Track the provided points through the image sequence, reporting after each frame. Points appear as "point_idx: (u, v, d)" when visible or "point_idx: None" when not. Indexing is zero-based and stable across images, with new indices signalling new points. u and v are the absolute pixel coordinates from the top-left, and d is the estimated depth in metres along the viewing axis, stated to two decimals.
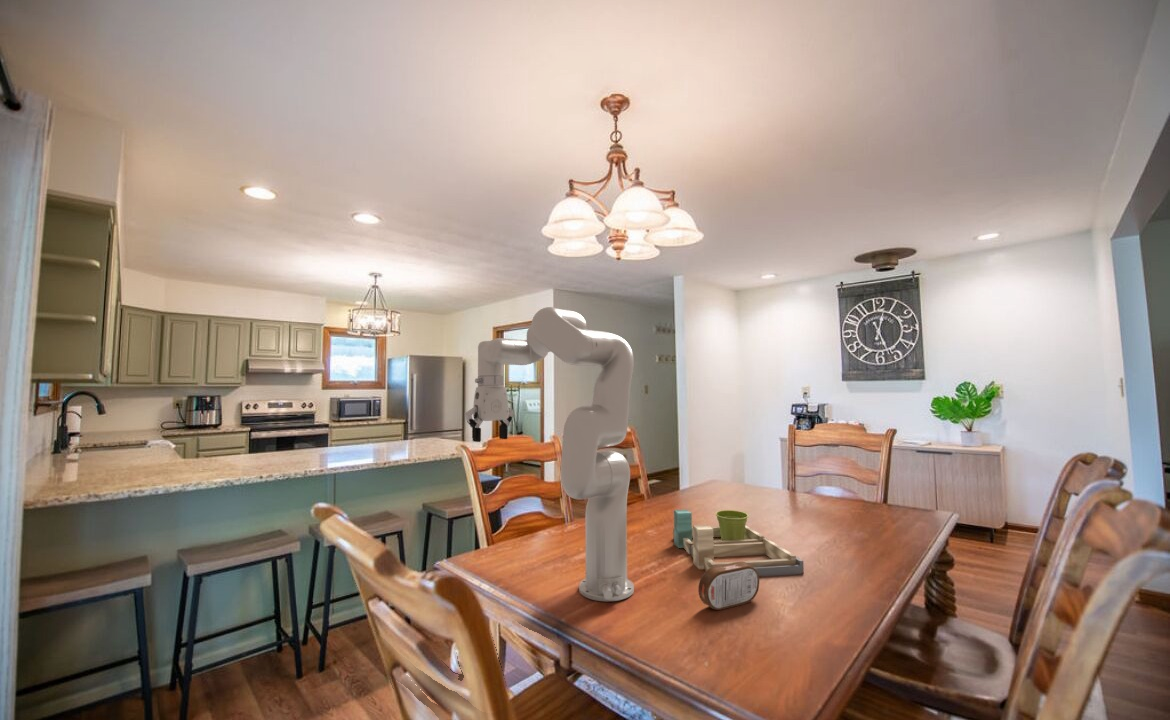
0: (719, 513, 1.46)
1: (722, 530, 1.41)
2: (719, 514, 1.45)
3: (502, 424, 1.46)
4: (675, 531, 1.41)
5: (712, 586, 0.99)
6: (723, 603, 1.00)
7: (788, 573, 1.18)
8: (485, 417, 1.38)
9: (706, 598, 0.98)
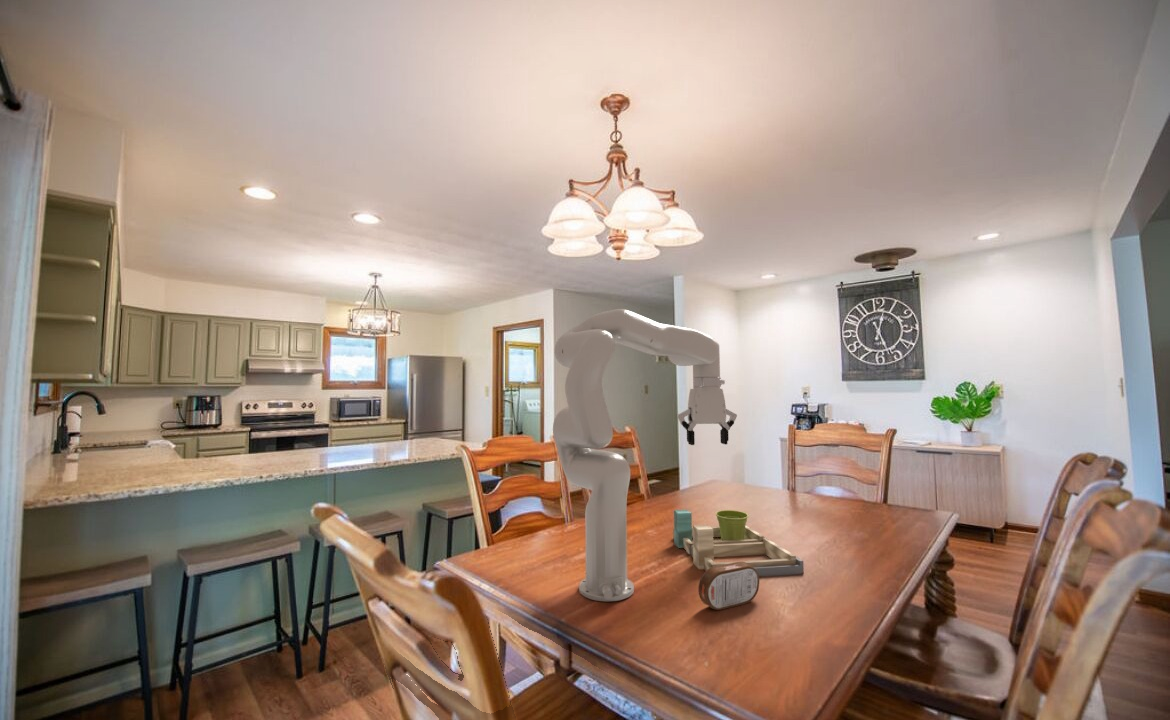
0: (719, 513, 1.46)
1: (722, 530, 1.41)
2: (719, 514, 1.45)
3: None
4: (675, 531, 1.41)
5: (712, 586, 0.99)
6: (723, 603, 1.00)
7: (788, 573, 1.18)
8: None
9: (706, 598, 0.98)
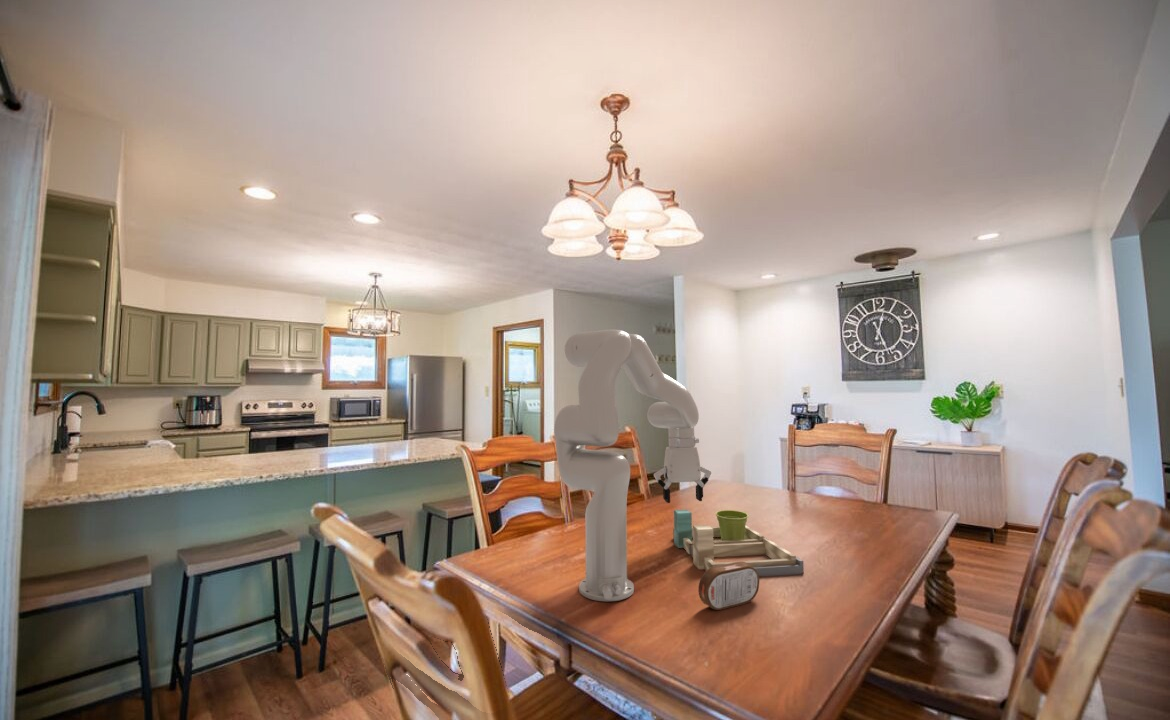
0: (719, 513, 1.46)
1: (722, 530, 1.41)
2: (719, 514, 1.45)
3: None
4: (675, 531, 1.41)
5: (712, 586, 0.99)
6: (723, 603, 1.00)
7: (788, 573, 1.18)
8: None
9: (706, 599, 0.98)
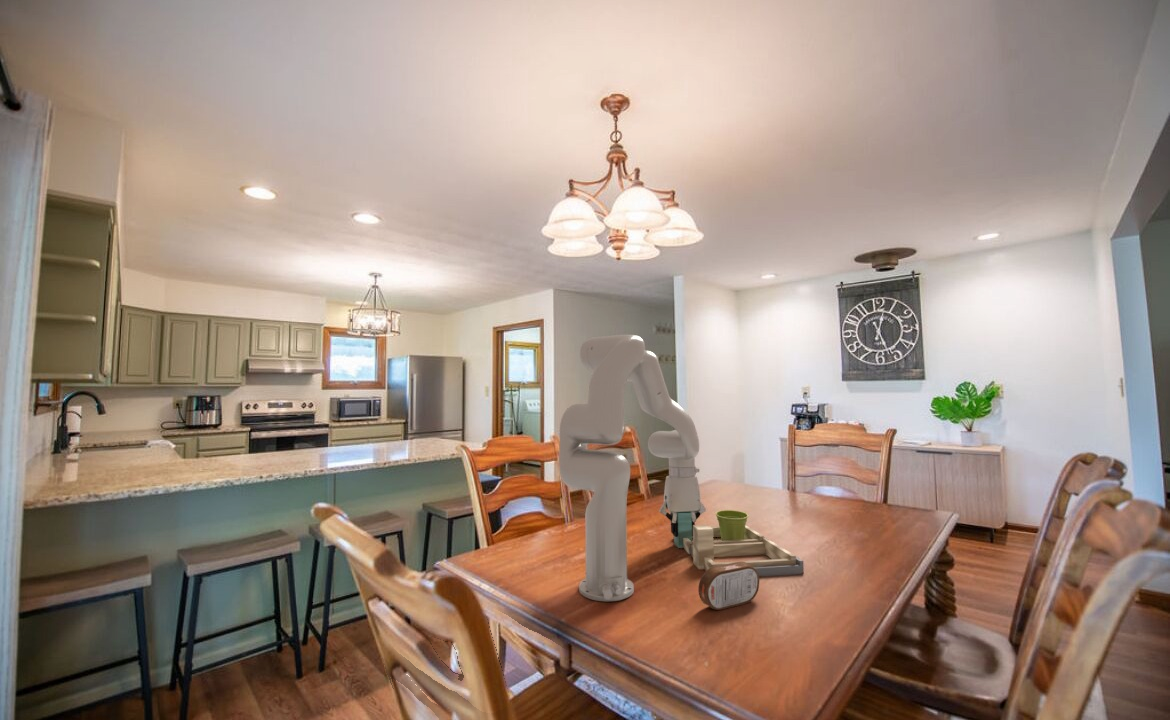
0: (719, 513, 1.46)
1: (722, 530, 1.41)
2: (719, 514, 1.45)
3: (675, 519, 1.40)
4: None
5: (712, 586, 0.99)
6: (723, 603, 1.00)
7: (788, 573, 1.18)
8: None
9: (706, 598, 0.98)
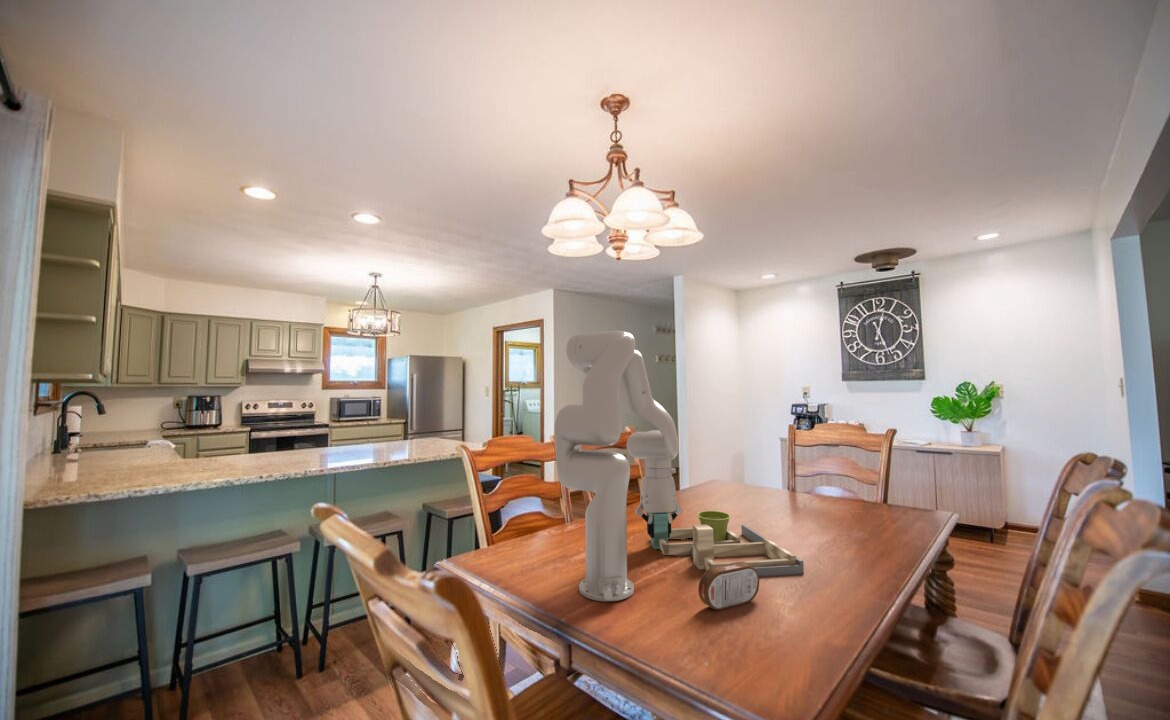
0: (701, 514, 1.45)
1: None
2: (701, 515, 1.45)
3: None
4: None
5: (712, 586, 0.99)
6: (723, 603, 1.00)
7: (788, 573, 1.18)
8: None
9: (706, 598, 0.98)
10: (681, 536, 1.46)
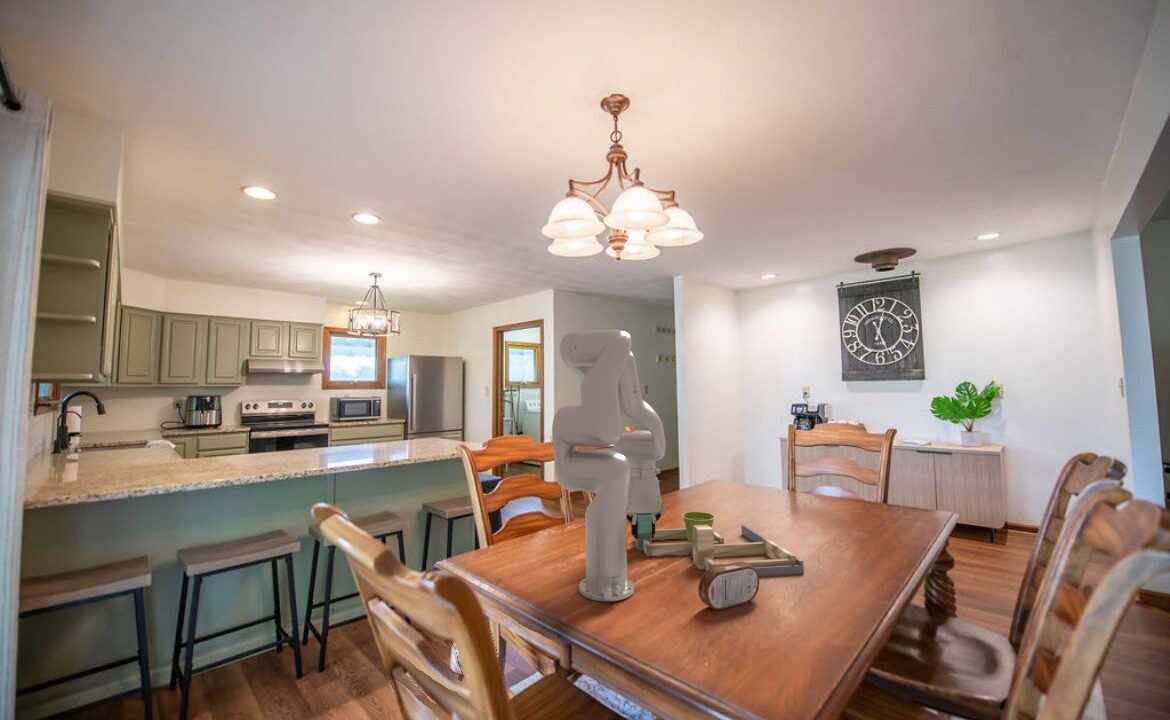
0: (686, 515, 1.44)
1: (689, 532, 1.39)
2: (686, 516, 1.44)
3: (635, 520, 1.38)
4: None
5: (712, 586, 0.99)
6: (723, 603, 1.00)
7: (788, 573, 1.18)
8: None
9: (706, 598, 0.98)
10: (666, 537, 1.46)
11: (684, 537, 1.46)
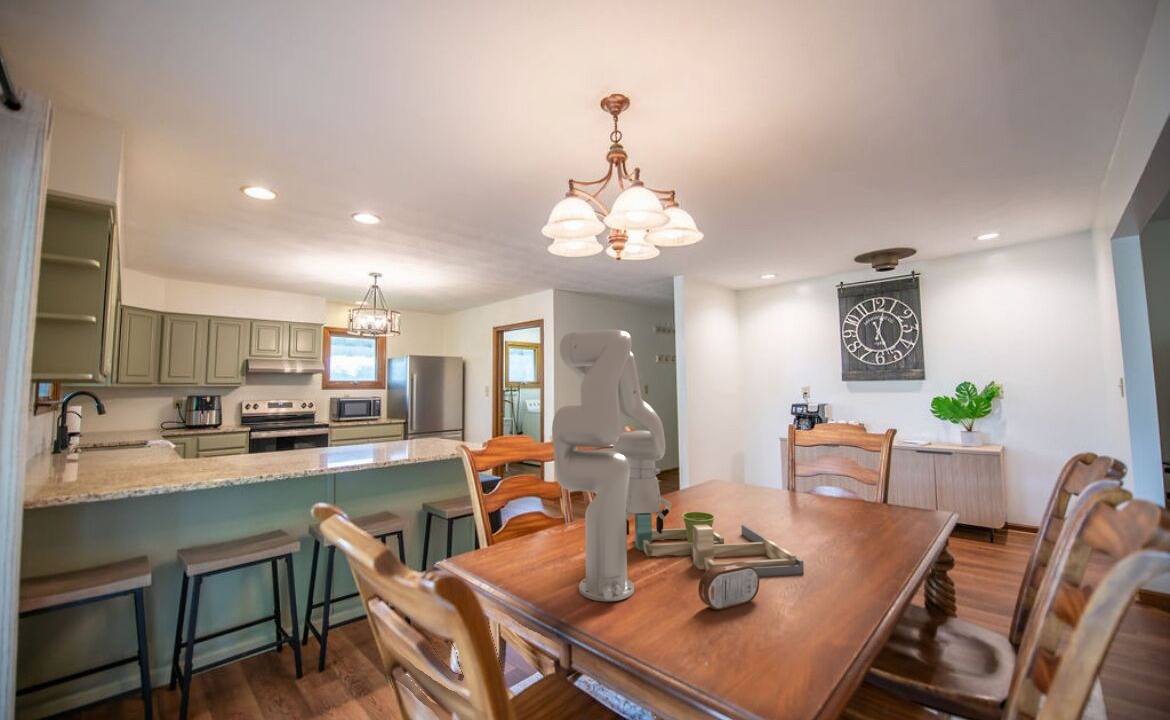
0: (686, 515, 1.44)
1: (689, 532, 1.39)
2: (686, 516, 1.44)
3: None
4: (635, 532, 1.40)
5: (712, 586, 0.99)
6: (723, 603, 1.00)
7: (788, 573, 1.18)
8: None
9: (706, 598, 0.98)
10: (666, 537, 1.46)
11: (684, 537, 1.46)
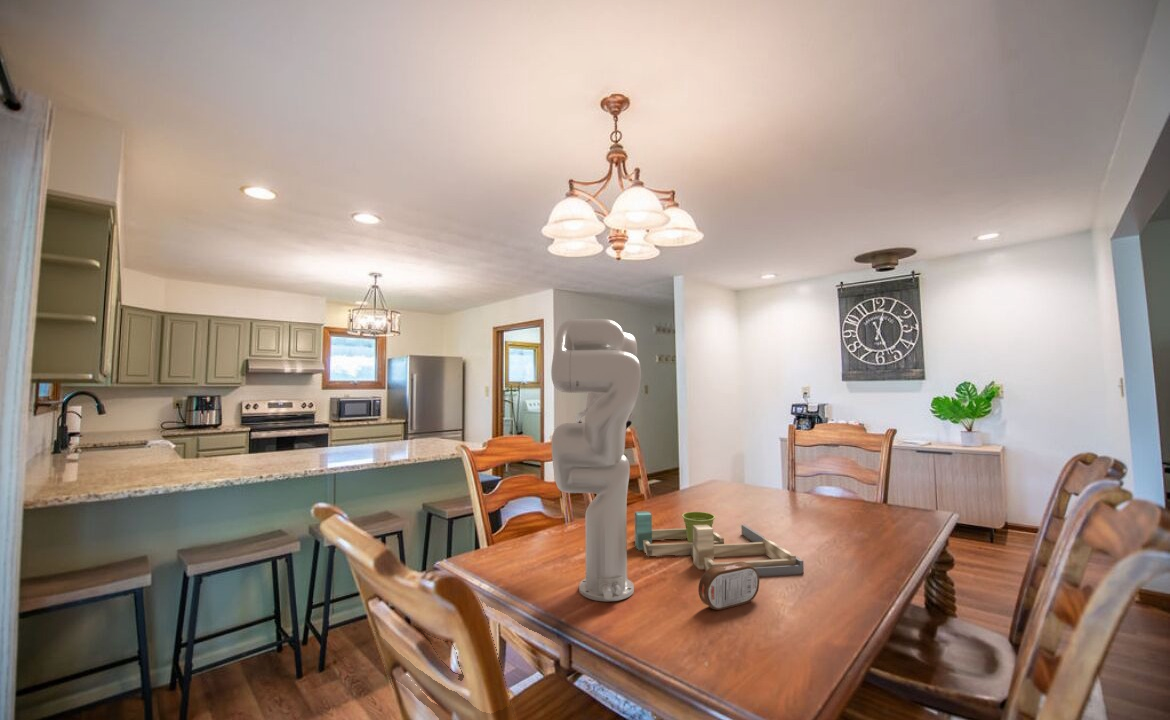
0: (686, 515, 1.44)
1: (689, 532, 1.39)
2: (686, 516, 1.44)
3: None
4: (635, 532, 1.40)
5: (712, 586, 0.99)
6: (723, 603, 1.00)
7: (788, 573, 1.18)
8: None
9: (706, 598, 0.98)
10: (666, 537, 1.46)
11: (684, 537, 1.46)
